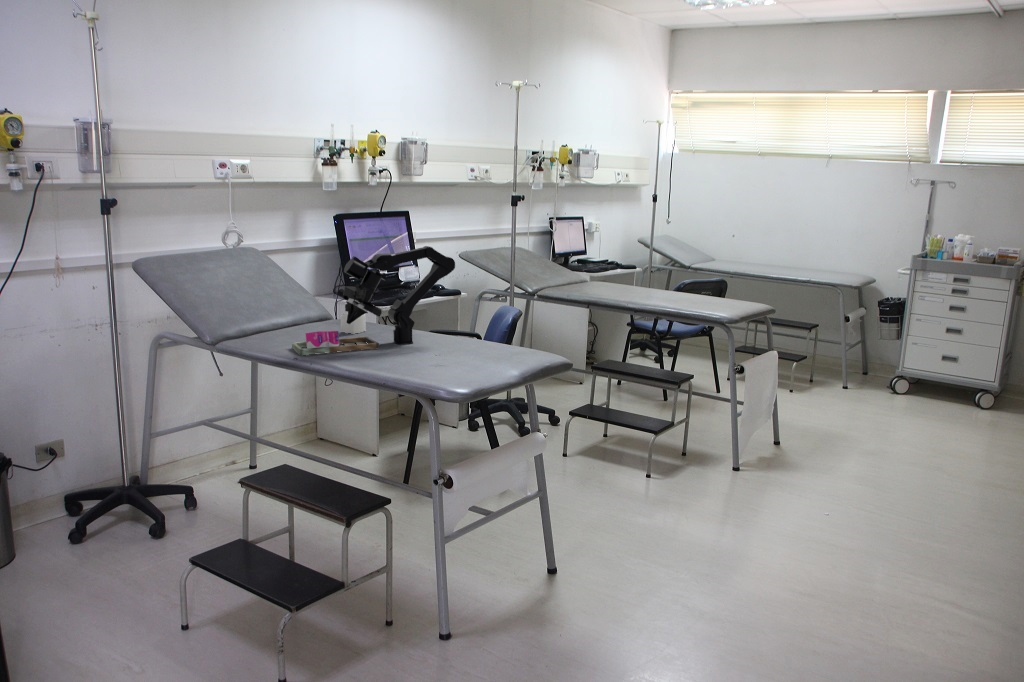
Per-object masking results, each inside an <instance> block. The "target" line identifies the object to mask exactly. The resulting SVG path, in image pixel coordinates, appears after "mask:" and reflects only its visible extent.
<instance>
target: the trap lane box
mask: <svg viewBox="0 0 1024 682" xmlns="http://www.w3.org/2000/svg"><path fill="white" fill-rule="evenodd" d="M366 342H367V343H368V344H367V343H366ZM342 343H343V344H344V345H346V346H344V345H343V344H342ZM355 343H356V344H358V345H356V344H355ZM339 344H342V345H340V346H337V347H325V348H314V349H307V348H306V349H305V348H302V347H307V343H306V341H298V342H297V341H296V342H291V349H292V350H293V349H294V350H293V351H294V352H296V354H298V355H299V356H300V355H301V356H300V357H304V356H303V355H306V356H310V355H309V354H315V353H325V352H337V351H349V352H351V351H350V350H360V351H362V350H361V349H371V350H377V349H376V348H379V349H380V344H379V342H377V341H375V340H374V339H372V338H371V337H369V336H358V337H346V338H339Z"/></svg>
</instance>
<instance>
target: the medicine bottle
mask: <svg viewBox="0 0 1024 682" xmlns="http://www.w3.org/2000/svg"><path fill="white" fill-rule="evenodd" d="M339 316H340V317H339V318H340V333H341V332H345V333H344V334H348V333H351V334H350V335H356V334H355V333H358V334H361V333H360V332H362V333H364V332H363V331H367V327H366V326H367V325H366V323H367V322H366V313H365V314H364V315H362V316H360V317H359V318H357V319H356V320H355V321H353V322H352V323H351V324H348V323H347V316H348V304H347V303H346V302H345V303H344V314H341V315H339Z"/></svg>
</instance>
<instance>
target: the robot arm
mask: <svg viewBox="0 0 1024 682" xmlns="http://www.w3.org/2000/svg"><path fill="white" fill-rule="evenodd" d="M423 259H427V260H429V262H431V263H432V265H431V268H430V271H429V272H428V273H427V274H426V276H424V277H423V279H422V280H420V281H419V283H418V284H417V285H416V286H415V287H414V288H413V289H412V290H411V291H410V292H409V294H408V295H407V296H406V297H405V298H404V299H402V300H399V299H396V300H395V301H394V302H393V304H392V305H390V306H389V309H388V313H387V315H388V319H389V320H390V321H392V323H393V326H394V329H393V330H392V331H393V332H392V333H393V334H392V335H393V336H392V337H393V342H394V343H395V345H400V344H403V345H405V344H407V345H408V344H414V341H413V328H414V326H415V321H414V319H412V318H410V317H411V315H412V313H413V310H414V308H415V306H416V305H417V304H419V302H420V301H421V300H422V298H424V297H425V295H426V294H427V293H428V292H429V291H430V290H431V289H432V288H433V287H434V286H435V284H436V283H437V282H438V281H440V280H441V279H443V278H445V277H447V276H448V275H449V274H451V273H452V272H453V271H454V270H455V269H456V262H455V259H453V258H452V257H450V256H445V255H444V254H442V253H440V252H439V251H438V250H436V249H434V248H433V247H432V246H427V245H425V246H423V247H418V248H414V249H409V250H404V251H401V252H396V253H376V254H374V255H373V256H372V258H371V259H369V260H367V261H363V260H361V259H359V258H358V257H357V256H355V255H354V256H352V258H351V259H349V261H348V262H346V264H345V266H344V269H343V272H344V274H347V275H349V276H350V277H352V278H353V279H356V280H360V279H362V280H361V282H360V283H359V282H358V283H357V284H356V285H355V286H351V285H348V286H344V289H342V288H340V289H338V290H337V292H336V296H338V297H340V298H342V299H344V300H345V304H346V303H347V304H348V316H347V323H348V324H351V323H352V322H353V321H355V320H356V319H357V318H359V317H360V316H362V315H364V314H365V315H366V314H368V312H369V313H371V314H373V315H374V316H377V317H378V318H380V317H381V315H382V313H383V312H382V309H381V308H380V307H377V306H376V305H374V304H372V303H371V302H370V301H371V299H372V297H373V296H376V294H377V292H375V291H376V289H377V287H378V285H379V284H380V282H381V280H383V281H388V278H387V275H386V272H385V271H388V270H390V269H393V268H395V267H397V266H399V265H400V264H406V263H410V262H413V261H418V260H423ZM370 269H372V270H370ZM377 270H378V271H377ZM380 271H382V272H380Z"/></svg>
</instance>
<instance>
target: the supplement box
mask: <svg viewBox="0 0 1024 682" xmlns="http://www.w3.org/2000/svg"><path fill="white" fill-rule="evenodd" d="M339 339H340V336H339V330H327V331H326V330H325V331H324V330H323V331H312V332H306V333H305V342H306V343H307V348H306V349H314V348H325V347H337V346H341V345H340V344H339Z"/></svg>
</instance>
